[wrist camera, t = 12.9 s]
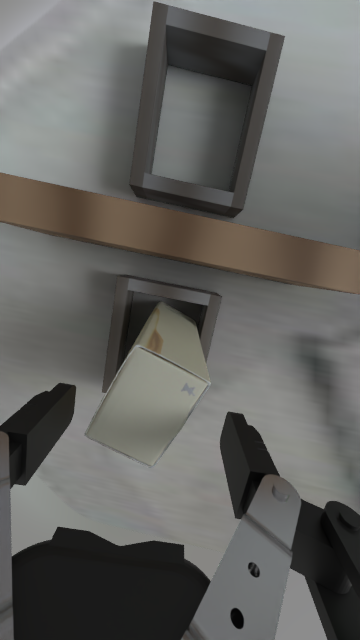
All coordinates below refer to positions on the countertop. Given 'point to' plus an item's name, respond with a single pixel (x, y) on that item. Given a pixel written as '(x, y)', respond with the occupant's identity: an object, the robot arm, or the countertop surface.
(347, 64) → the countertop surface
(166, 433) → the skincare box
